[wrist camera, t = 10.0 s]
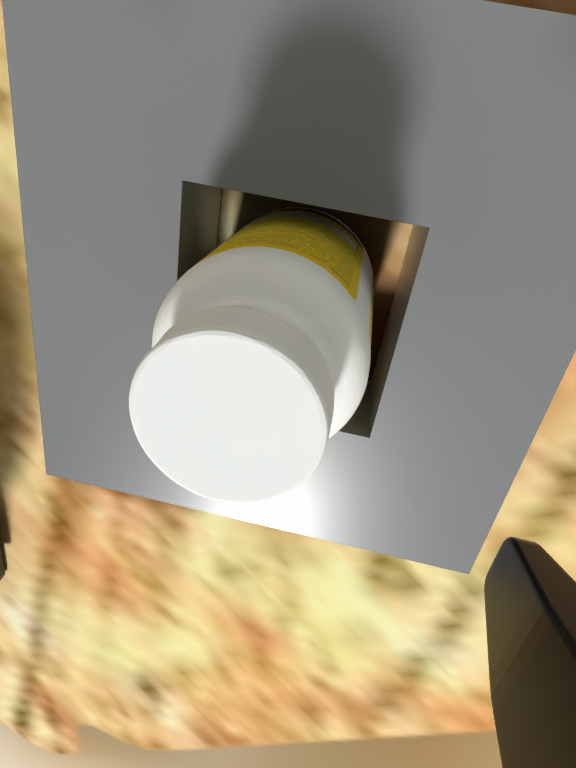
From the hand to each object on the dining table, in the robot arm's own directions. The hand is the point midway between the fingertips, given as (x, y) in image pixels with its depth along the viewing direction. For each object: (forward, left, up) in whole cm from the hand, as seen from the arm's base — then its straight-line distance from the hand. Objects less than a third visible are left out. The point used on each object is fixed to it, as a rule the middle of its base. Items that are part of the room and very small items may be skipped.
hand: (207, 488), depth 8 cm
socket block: (0, 0, -12) cm, 12 cm away
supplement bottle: (0, 0, -12) cm, 12 cm away
